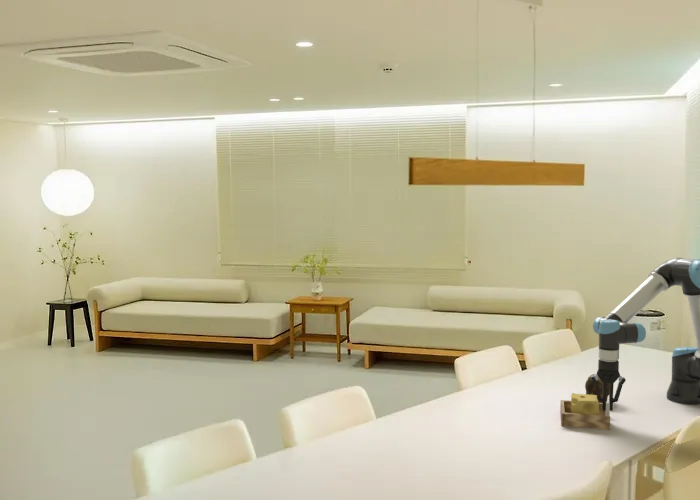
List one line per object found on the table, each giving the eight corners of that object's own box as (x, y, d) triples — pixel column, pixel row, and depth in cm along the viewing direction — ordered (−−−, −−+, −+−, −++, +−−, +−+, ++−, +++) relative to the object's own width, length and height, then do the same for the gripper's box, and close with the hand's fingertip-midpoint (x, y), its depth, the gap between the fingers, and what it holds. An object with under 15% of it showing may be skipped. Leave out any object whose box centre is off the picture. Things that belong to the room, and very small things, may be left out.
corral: (606, 415, 285) (606, 403, 285) (609, 429, 268) (610, 417, 267) (560, 411, 290) (560, 399, 290) (561, 425, 273) (561, 413, 272)
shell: (607, 406, 297) (608, 378, 296) (581, 402, 304) (582, 374, 303) (615, 400, 306) (615, 373, 305) (589, 396, 312) (590, 369, 312)
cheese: (570, 424, 274) (570, 399, 273) (570, 416, 284) (570, 392, 284) (598, 427, 271) (599, 401, 270) (597, 418, 281) (598, 394, 281)
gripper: (625, 358, 276) (623, 417, 278) (590, 356, 280) (589, 414, 282) (627, 362, 269) (625, 422, 271) (591, 360, 273) (590, 420, 274)
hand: (607, 418), depth 276 cm, fingers closed
